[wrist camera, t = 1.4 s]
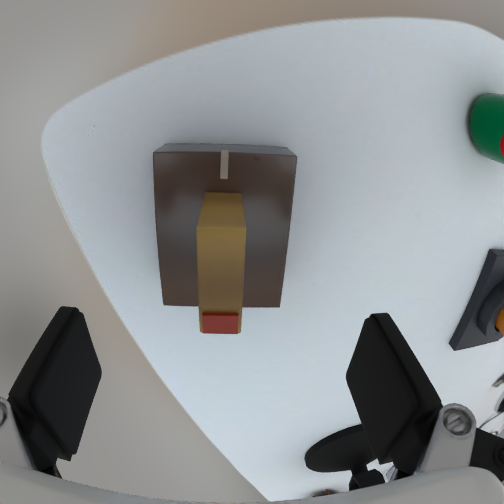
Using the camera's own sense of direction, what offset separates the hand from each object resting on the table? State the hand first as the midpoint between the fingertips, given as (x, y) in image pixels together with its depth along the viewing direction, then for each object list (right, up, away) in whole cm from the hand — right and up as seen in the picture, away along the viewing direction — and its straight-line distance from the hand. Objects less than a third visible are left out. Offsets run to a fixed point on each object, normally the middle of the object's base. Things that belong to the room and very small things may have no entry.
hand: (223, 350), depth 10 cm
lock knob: (-1, +4, +7) cm, 8 cm away
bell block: (+26, -2, +15) cm, 30 cm away
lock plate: (-1, +5, +9) cm, 11 cm away
